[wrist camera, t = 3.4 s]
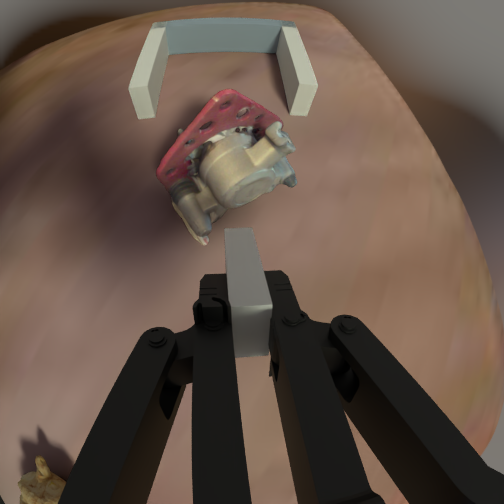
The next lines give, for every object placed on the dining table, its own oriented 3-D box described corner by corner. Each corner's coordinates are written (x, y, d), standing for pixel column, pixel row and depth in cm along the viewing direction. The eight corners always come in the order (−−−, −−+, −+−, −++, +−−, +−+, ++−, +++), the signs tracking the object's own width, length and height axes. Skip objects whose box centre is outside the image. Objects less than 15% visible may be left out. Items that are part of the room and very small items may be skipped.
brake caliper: (241, 97, 27) (303, 66, 16) (276, 190, 31) (347, 208, 21) (137, 139, 24) (136, 121, 14) (182, 237, 29) (212, 283, 18)
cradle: (306, 116, 30) (318, 85, 25) (138, 119, 28) (128, 88, 23) (287, 47, 34) (294, 21, 29) (157, 49, 32) (153, 22, 27)
